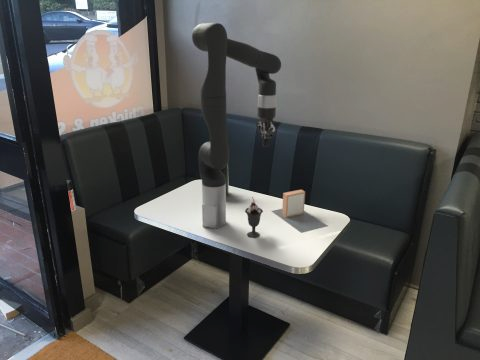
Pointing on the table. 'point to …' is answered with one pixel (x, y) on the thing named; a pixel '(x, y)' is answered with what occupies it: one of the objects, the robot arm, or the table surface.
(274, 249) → the table surface
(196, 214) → the table surface
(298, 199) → the terracotta brick
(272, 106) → the robot arm
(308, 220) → the slate board
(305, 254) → the table surface
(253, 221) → the sundae
